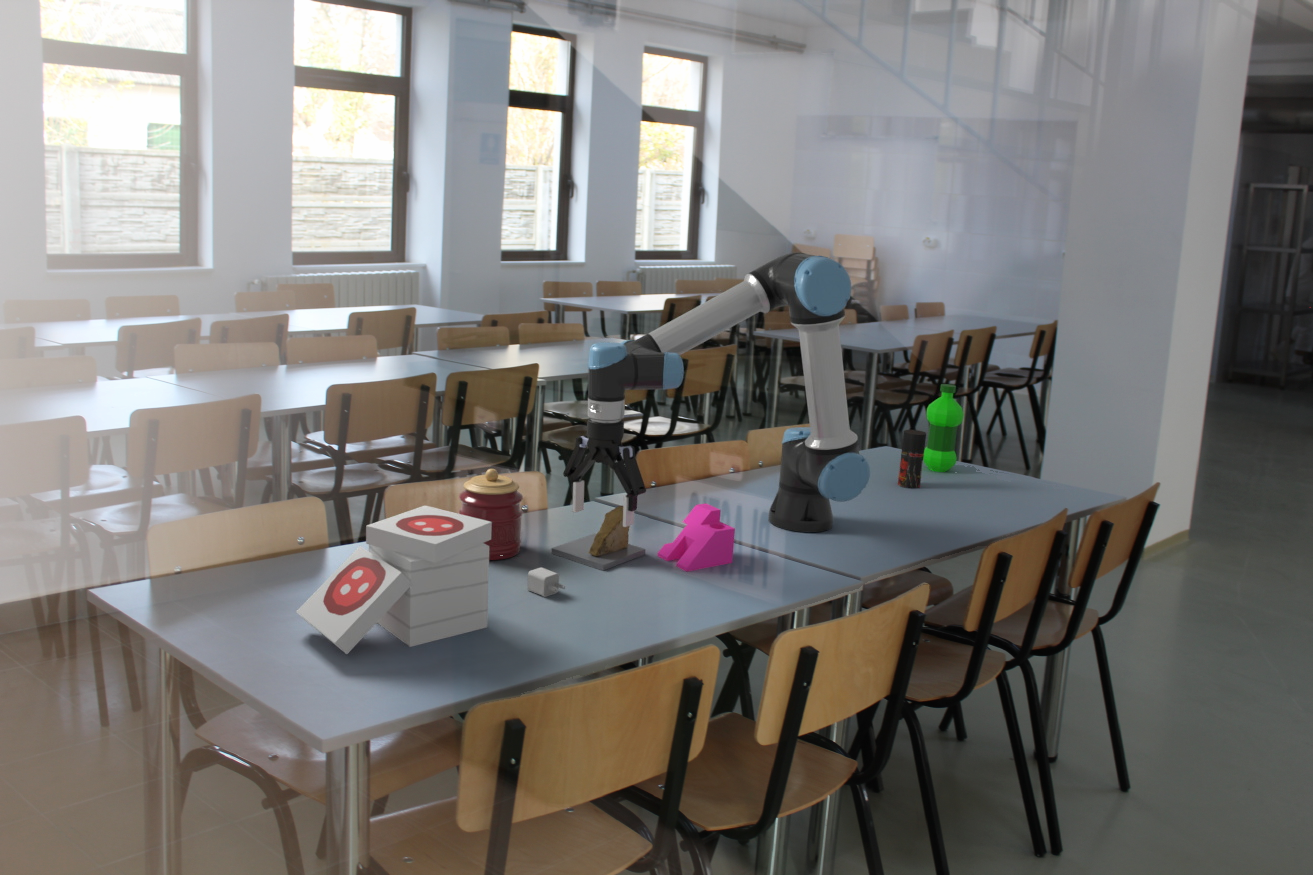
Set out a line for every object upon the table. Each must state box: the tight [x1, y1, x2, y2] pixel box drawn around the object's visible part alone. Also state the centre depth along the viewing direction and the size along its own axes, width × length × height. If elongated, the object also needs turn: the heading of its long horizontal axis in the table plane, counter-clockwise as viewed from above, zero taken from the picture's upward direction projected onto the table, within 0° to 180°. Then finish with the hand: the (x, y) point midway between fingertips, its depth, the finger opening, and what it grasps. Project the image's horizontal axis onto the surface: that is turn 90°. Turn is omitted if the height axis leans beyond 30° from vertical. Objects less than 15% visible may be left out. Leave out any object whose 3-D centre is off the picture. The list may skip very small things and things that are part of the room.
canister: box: [458, 468, 524, 561], centre depth 224 cm, size 13×13×18 cm
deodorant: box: [897, 429, 927, 490], centre depth 296 cm, size 6×6×15 cm
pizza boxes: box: [295, 505, 492, 655], centre depth 183 cm, size 19×30×18 cm, turn 131°
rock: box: [589, 505, 631, 556], centre depth 227 cm, size 11×9×10 cm
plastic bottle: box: [923, 383, 965, 473], centre depth 314 cm, size 10×10×25 cm
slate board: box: [550, 533, 646, 571], centre depth 228 cm, size 14×14×1 cm
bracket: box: [657, 502, 736, 572], centre depth 228 cm, size 12×10×10 cm
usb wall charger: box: [527, 567, 566, 598], centre depth 205 cm, size 4×7×4 cm, turn 50°
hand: (602, 518), depth 227 cm, fingers open, 13 cm apart
